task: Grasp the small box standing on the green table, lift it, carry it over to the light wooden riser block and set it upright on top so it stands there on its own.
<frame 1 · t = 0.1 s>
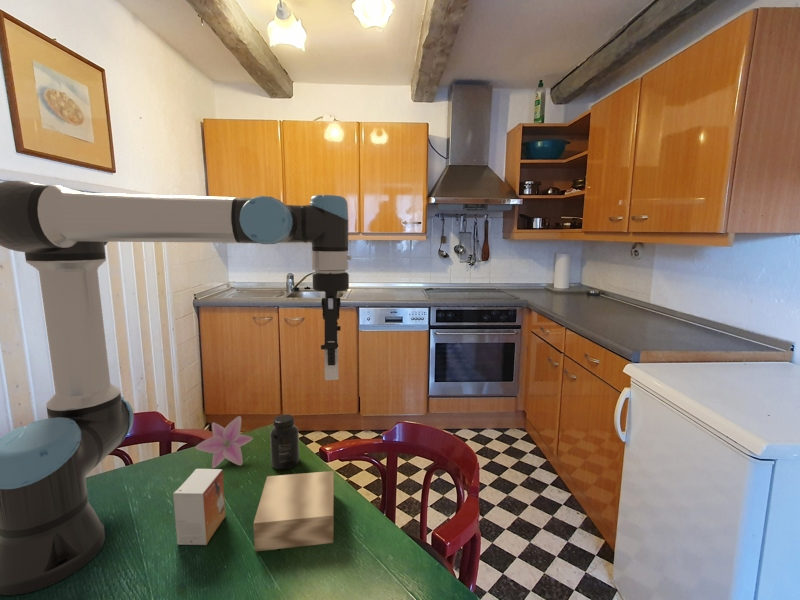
hand: (332, 368, 85), 28 cm above the table, fingers open, 13 cm apart
small box: (202, 530, 75), on the table
lily: (227, 460, 99), on the table
riser: (298, 521, 78), on the table
supplement bottle: (285, 463, 98), on the table
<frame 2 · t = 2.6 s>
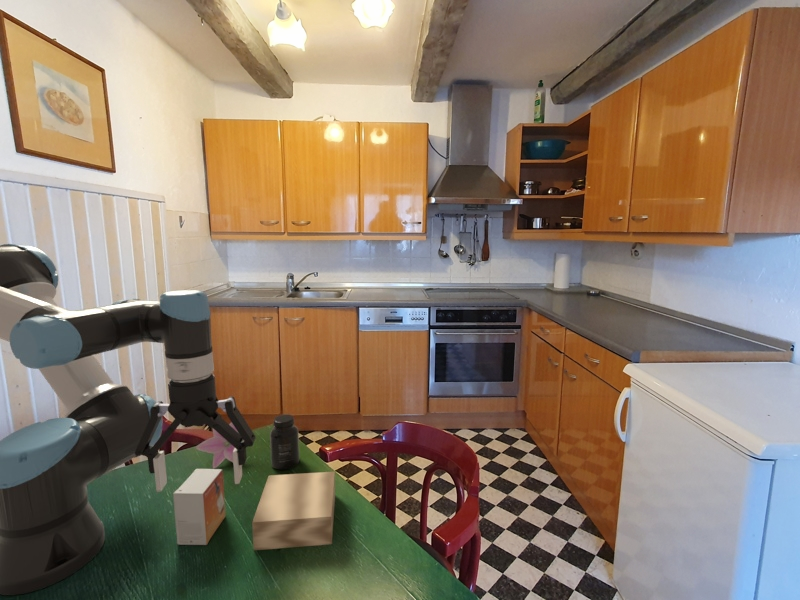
hand: (200, 483, 74), 10 cm above the table, fingers open, 13 cm apart
nothing on the table moved.
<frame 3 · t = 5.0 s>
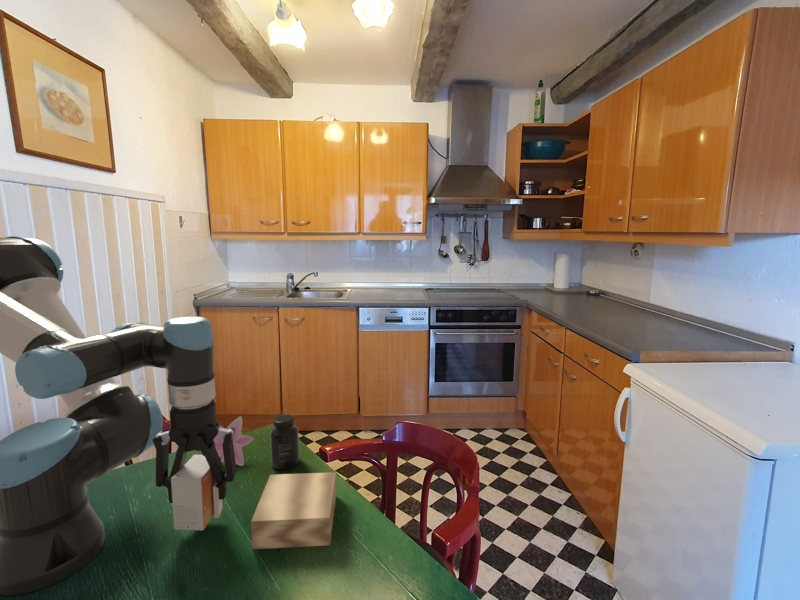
hand: (199, 514, 75), 3 cm above the table, fingers closed on small box, 6 cm apart
small box: (199, 516, 75), point 3 cm above the table, touching gripper
everything else where it was.
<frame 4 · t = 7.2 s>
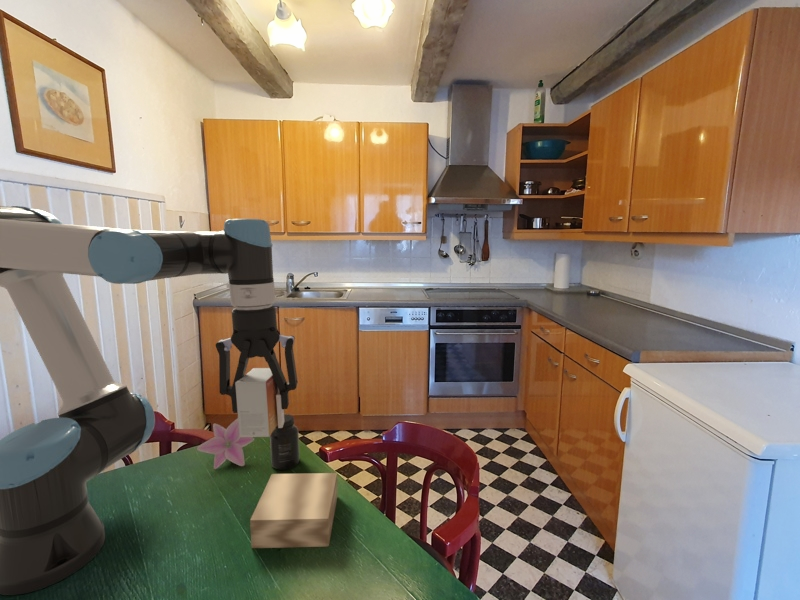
hand: (262, 426, 74), 21 cm above the table, fingers closed on small box, 6 cm apart
small box: (262, 428, 74), point 20 cm above the table, touching gripper
everything else where it was.
when the fingers open (7 cm above the table, at t = 9.7 s): small box drops 2 cm, resting on riser.
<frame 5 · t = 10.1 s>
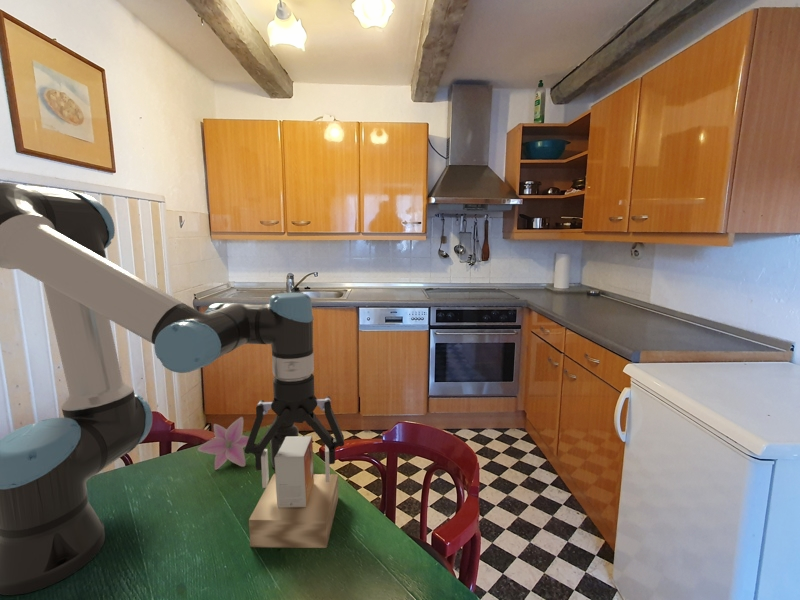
hand: (297, 480, 77), 9 cm above the table, fingers open, 11 cm apart
small box: (296, 495, 77), point 5 cm above the table, touching riser
riser: (298, 522, 78), on the table, touching small box
everything else where it was.
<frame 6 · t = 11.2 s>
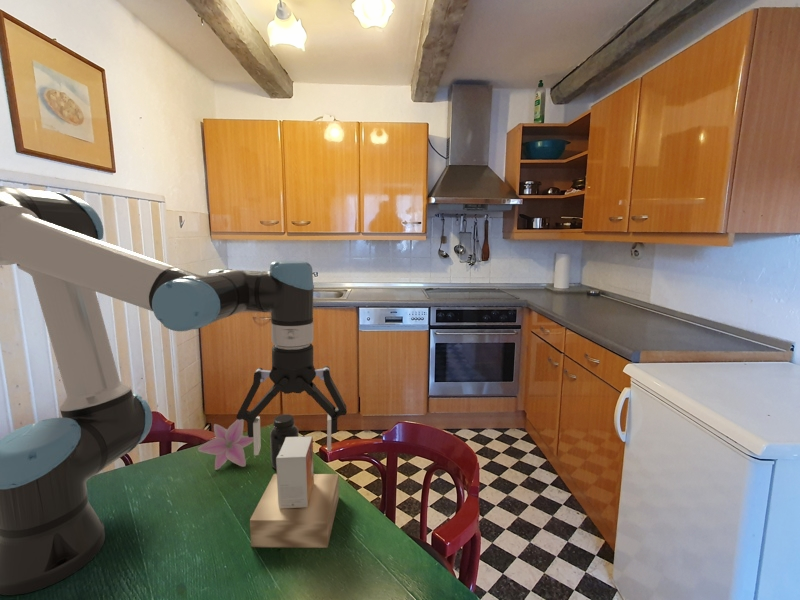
hand: (293, 449, 76), 15 cm above the table, fingers open, 13 cm apart
small box: (297, 496, 77), point 5 cm above the table
riser: (299, 522, 78), on the table
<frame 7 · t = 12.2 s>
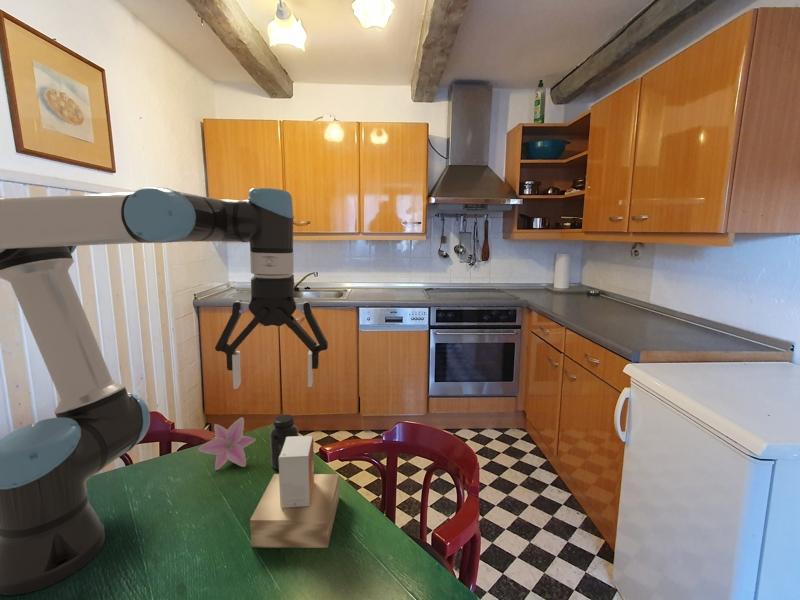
hand: (274, 385, 75), 28 cm above the table, fingers open, 13 cm apart
small box: (298, 495, 78), point 5 cm above the table, touching riser
riser: (299, 522, 78), on the table, touching small box
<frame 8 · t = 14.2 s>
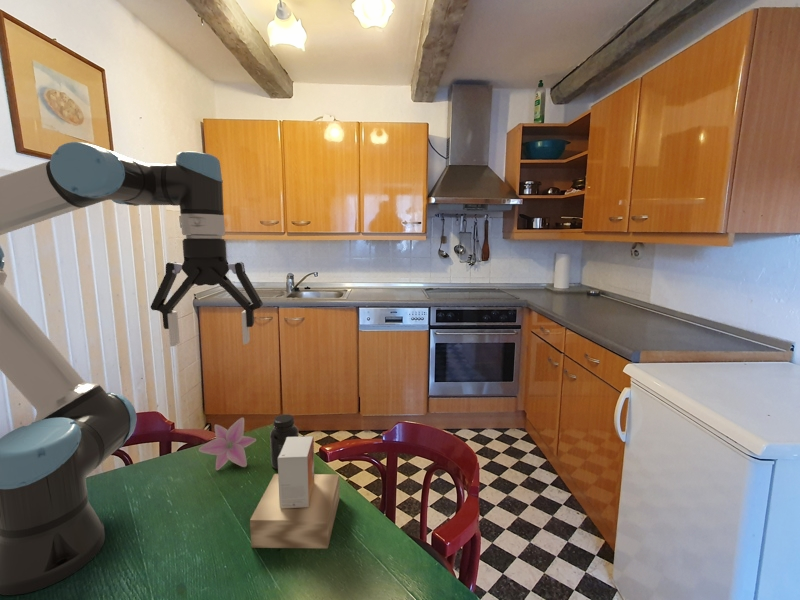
hand: (211, 343, 79), 35 cm above the table, fingers open, 13 cm apart
at the end: small box inside the target area on the riser (0.1 cm from its centre), point 5.8 cm above the riser's base; small box tilted 0°; the gripper is holding nothing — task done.
